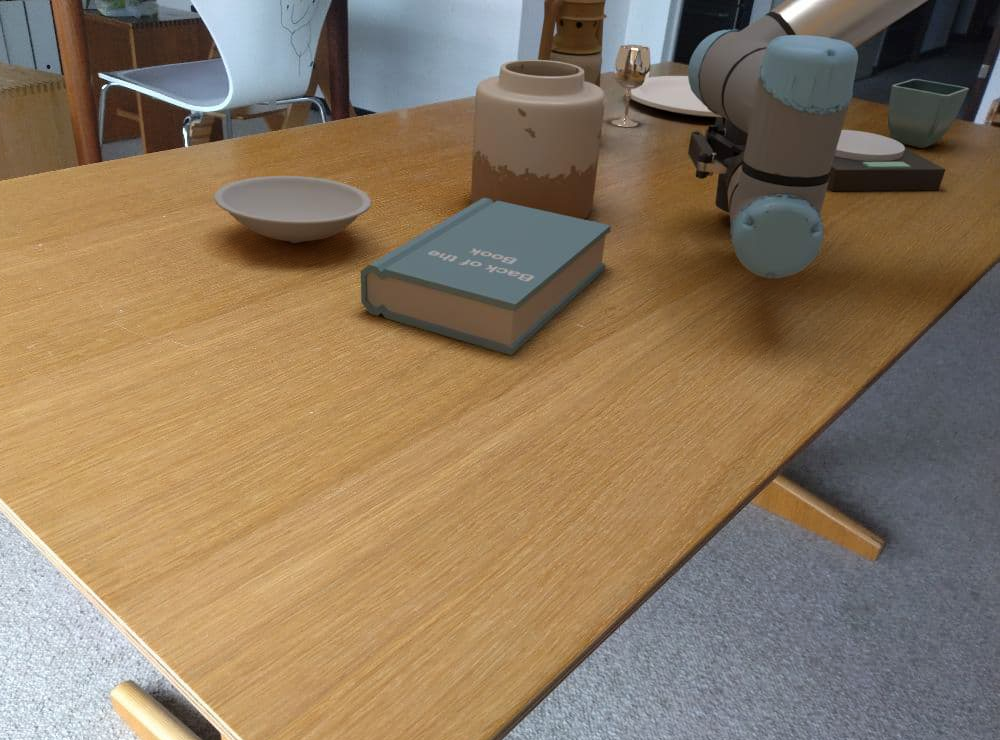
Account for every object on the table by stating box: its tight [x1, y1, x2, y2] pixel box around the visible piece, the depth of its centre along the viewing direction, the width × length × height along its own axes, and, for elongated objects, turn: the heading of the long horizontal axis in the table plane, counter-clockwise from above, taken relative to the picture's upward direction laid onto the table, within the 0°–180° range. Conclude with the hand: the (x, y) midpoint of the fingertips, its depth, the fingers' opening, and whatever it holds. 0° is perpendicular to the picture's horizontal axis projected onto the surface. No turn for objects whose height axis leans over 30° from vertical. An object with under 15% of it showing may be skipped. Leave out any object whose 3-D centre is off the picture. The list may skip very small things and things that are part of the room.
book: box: [360, 198, 611, 356], centre depth 88 cm, size 23×16×5 cm
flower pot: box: [887, 78, 970, 149], centre depth 140 cm, size 9×9×9 cm
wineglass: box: [611, 44, 651, 128], centre depth 144 cm, size 6×6×12 cm
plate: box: [625, 75, 725, 119], centre depth 159 cm, size 28×28×2 cm
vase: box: [470, 59, 606, 220], centre depth 106 cm, size 15×15×17 cm
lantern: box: [537, 0, 608, 88], centre depth 128 cm, size 15×10×30 cm
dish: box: [213, 175, 372, 244], centre depth 97 cm, size 18×14×5 cm
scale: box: [827, 129, 946, 192], centre depth 128 cm, size 18×16×4 cm
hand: (753, 131), depth 107 cm, fingers closed on coffee cup, 8 cm apart
